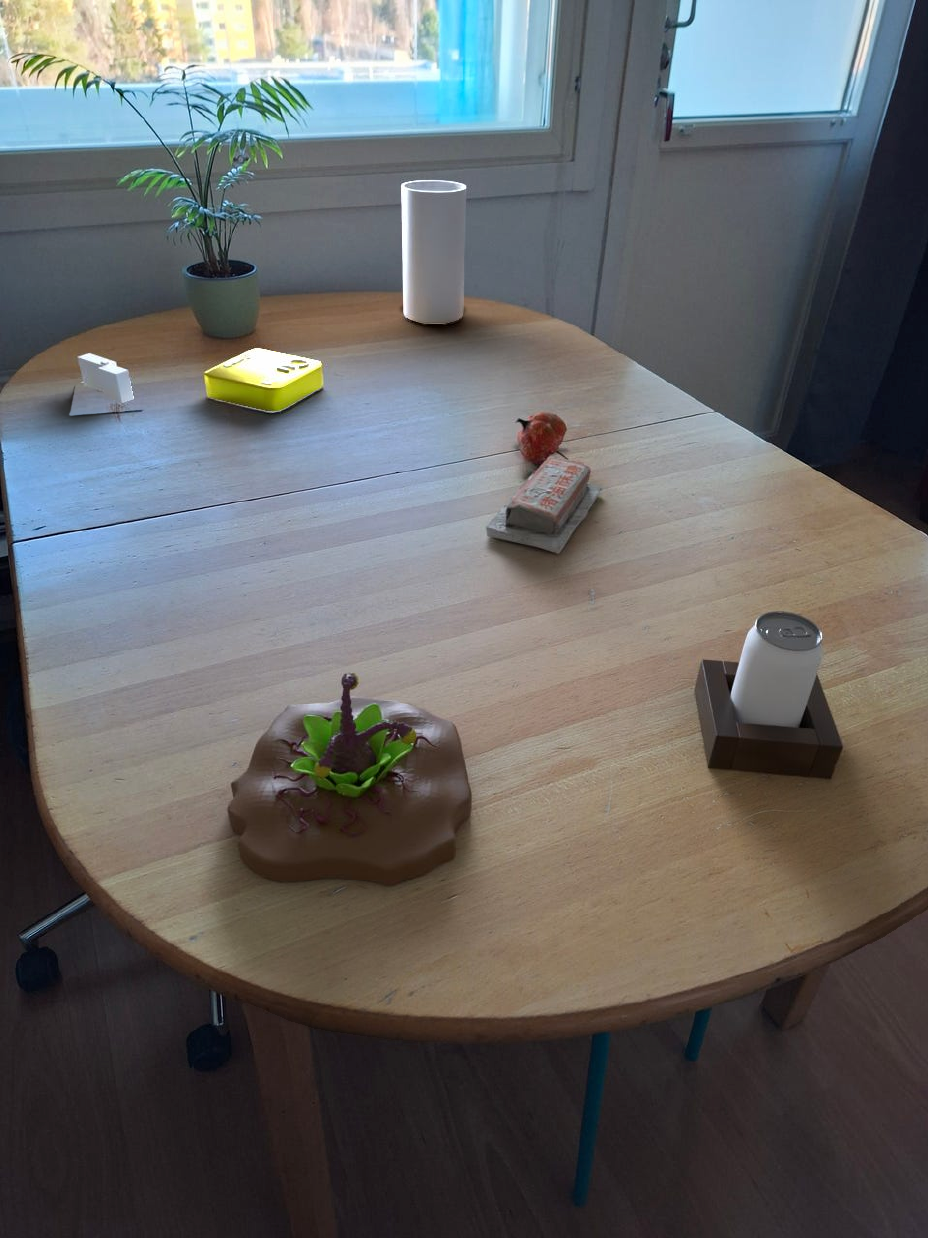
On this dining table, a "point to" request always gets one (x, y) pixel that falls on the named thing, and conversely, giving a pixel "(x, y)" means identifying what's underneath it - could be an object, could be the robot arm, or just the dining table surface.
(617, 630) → the dining table surface
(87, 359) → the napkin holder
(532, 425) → the pomegranate
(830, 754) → the socket block
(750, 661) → the can
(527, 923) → the dining table surface
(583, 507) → the packaged product
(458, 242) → the cylinder vase
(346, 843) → the plant
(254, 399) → the element tile
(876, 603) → the dining table surface
